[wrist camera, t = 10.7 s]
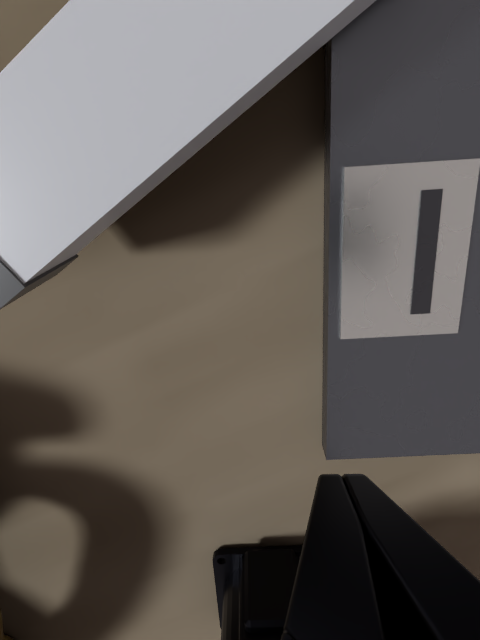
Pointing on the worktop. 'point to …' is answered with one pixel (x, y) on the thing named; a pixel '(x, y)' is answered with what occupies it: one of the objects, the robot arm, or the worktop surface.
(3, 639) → the brown looped sculpture
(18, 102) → the swing arm
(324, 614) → the robot arm
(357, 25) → the label board
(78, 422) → the worktop surface
